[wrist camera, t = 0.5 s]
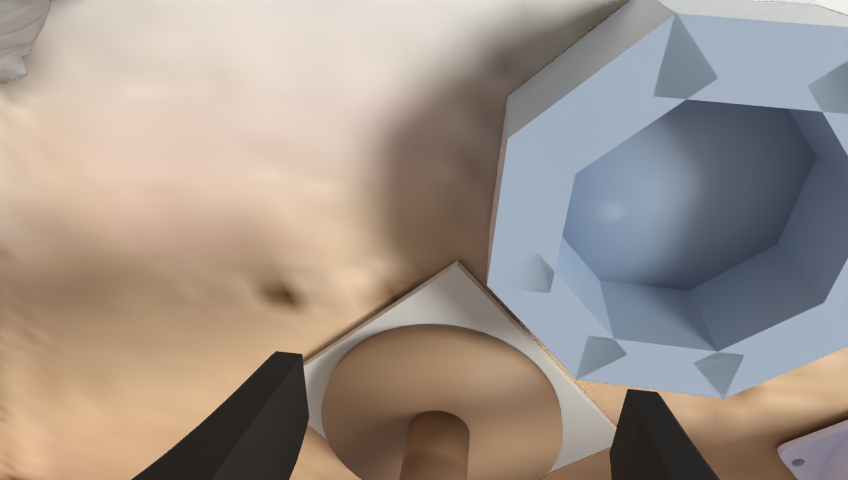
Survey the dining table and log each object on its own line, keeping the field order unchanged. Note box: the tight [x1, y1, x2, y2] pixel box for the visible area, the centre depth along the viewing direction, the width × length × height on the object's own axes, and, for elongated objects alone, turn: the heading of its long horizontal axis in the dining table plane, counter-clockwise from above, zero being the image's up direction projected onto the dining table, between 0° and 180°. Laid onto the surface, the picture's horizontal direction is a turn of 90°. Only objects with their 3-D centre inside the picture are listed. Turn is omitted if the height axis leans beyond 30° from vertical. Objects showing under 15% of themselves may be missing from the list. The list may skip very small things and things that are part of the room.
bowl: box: [487, 0, 848, 399], centre depth 18 cm, size 12×12×4 cm
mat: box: [303, 260, 617, 473], centre depth 27 cm, size 12×12×1 cm
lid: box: [321, 324, 563, 480], centre depth 24 cm, size 11×11×6 cm
